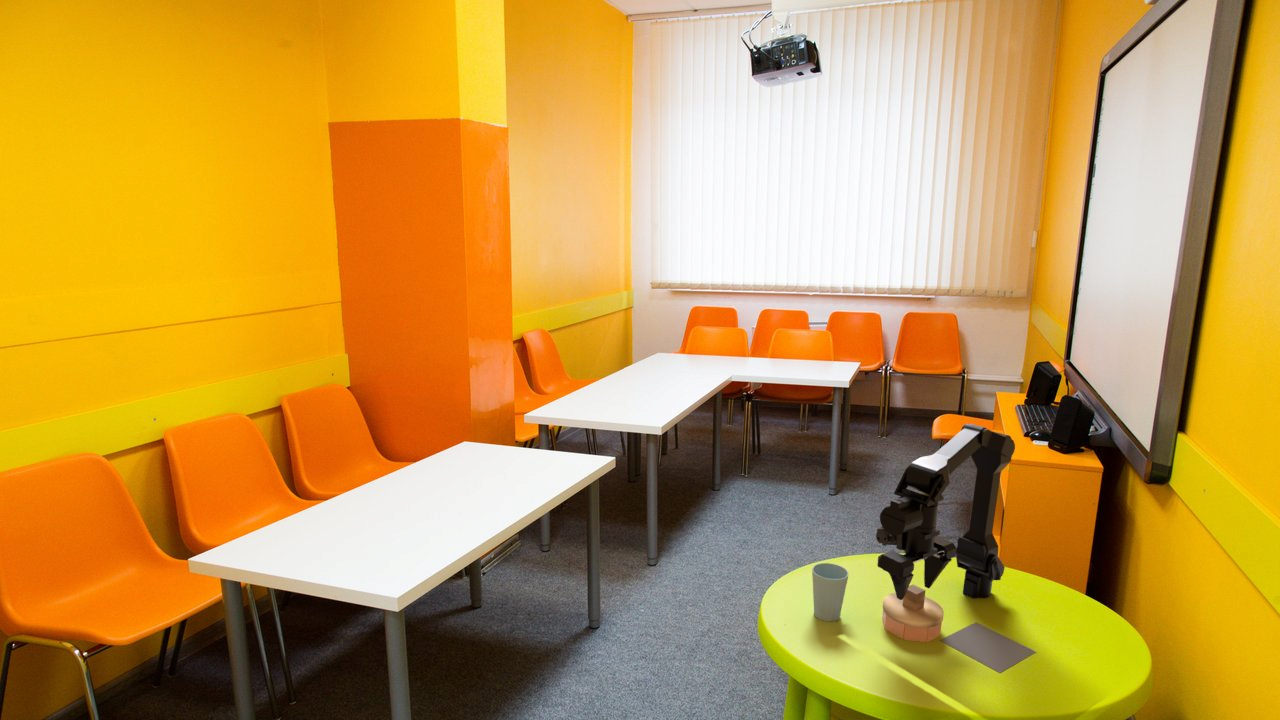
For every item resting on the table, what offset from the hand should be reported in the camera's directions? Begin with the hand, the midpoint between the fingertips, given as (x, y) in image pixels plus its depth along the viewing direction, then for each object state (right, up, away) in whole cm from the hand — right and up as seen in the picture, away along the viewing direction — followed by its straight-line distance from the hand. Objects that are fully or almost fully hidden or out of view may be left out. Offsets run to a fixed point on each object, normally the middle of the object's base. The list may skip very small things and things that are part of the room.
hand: (913, 593), depth 155 cm
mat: (+13, -10, -5) cm, 17 cm away
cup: (-16, -7, +8) cm, 19 cm away
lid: (0, -4, +1) cm, 4 cm away
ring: (0, -9, +2) cm, 9 cm away
